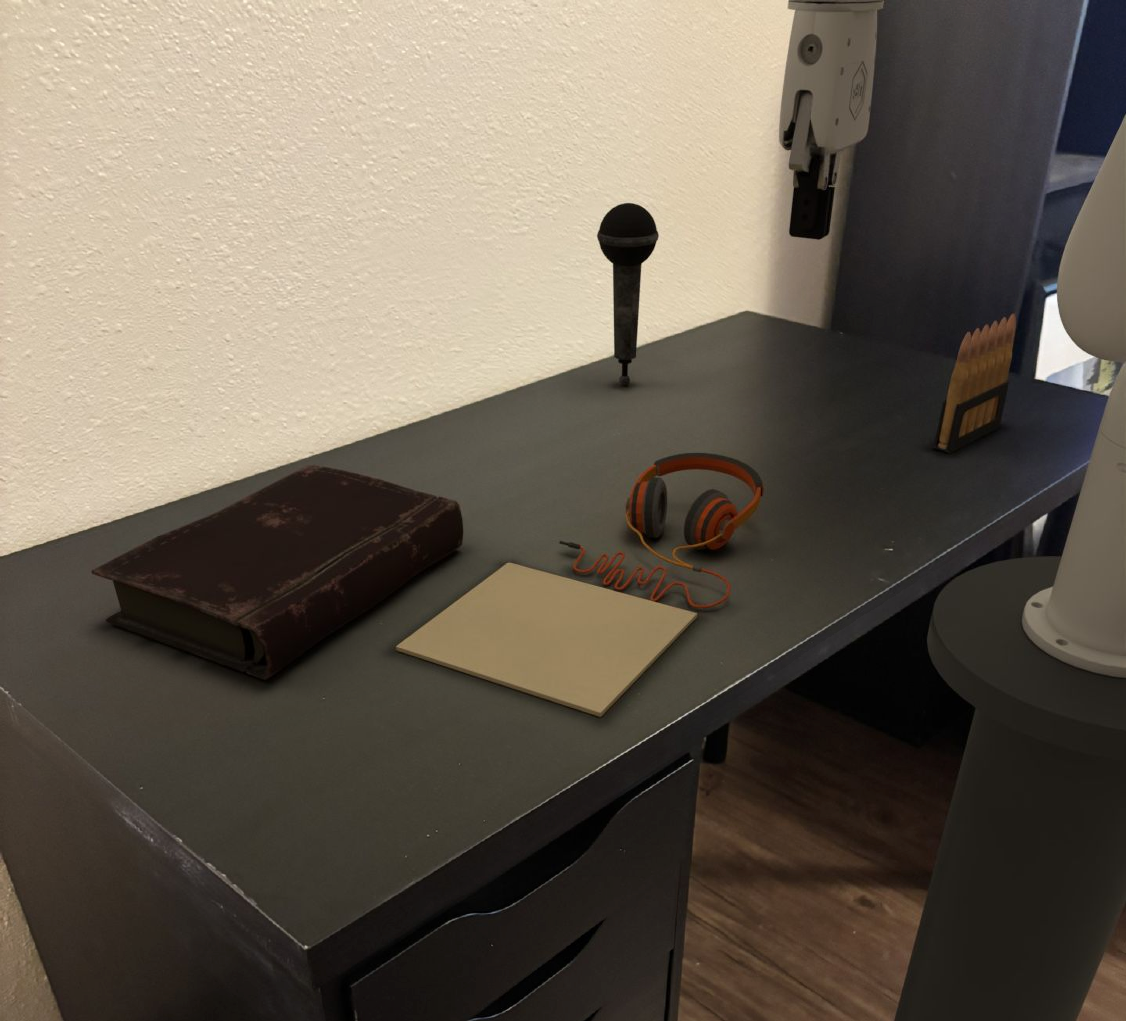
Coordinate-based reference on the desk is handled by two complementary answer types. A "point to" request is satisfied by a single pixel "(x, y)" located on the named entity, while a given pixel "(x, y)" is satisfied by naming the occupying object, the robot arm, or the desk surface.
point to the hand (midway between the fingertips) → (808, 235)
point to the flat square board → (550, 637)
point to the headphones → (704, 521)
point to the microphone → (627, 272)
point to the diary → (281, 566)
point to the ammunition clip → (977, 386)
